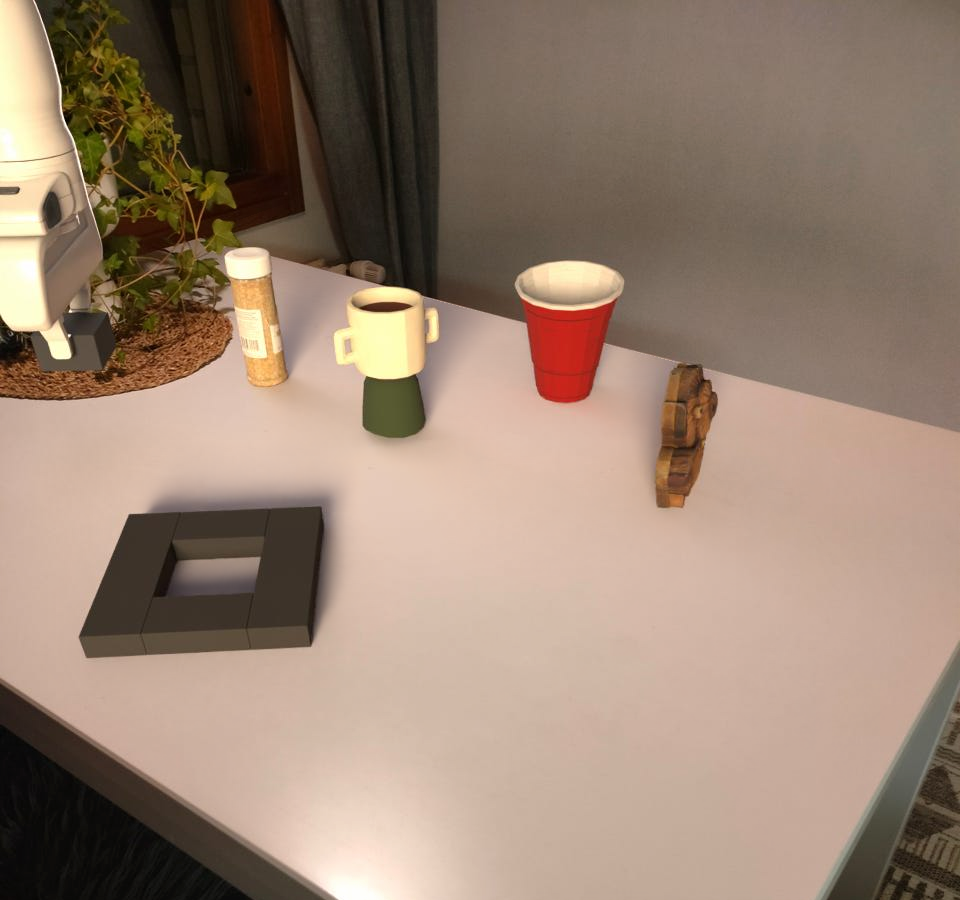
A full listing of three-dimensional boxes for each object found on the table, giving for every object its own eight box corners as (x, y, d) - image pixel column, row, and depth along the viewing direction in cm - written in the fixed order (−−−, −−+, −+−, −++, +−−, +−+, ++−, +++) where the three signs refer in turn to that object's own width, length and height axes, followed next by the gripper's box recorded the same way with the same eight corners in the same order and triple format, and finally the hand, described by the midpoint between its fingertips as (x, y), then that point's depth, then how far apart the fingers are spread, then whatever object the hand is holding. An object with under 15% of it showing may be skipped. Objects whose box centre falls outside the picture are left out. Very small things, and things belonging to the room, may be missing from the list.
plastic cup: (497, 404, 96) (498, 289, 88) (533, 364, 103) (536, 254, 95) (597, 423, 92) (607, 304, 85) (626, 380, 100) (637, 267, 92)
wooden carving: (700, 532, 77) (720, 423, 71) (646, 525, 78) (660, 418, 72) (707, 440, 90) (724, 341, 83) (660, 436, 90) (673, 337, 84)
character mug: (423, 402, 96) (417, 276, 88) (459, 429, 92) (456, 299, 83) (329, 429, 92) (313, 299, 83) (362, 459, 87) (348, 324, 79)
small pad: (40, 371, 87) (29, 336, 85) (57, 347, 92) (47, 312, 90) (103, 370, 88) (93, 334, 86) (117, 346, 92) (108, 312, 90)
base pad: (86, 658, 65) (77, 637, 64) (134, 533, 78) (128, 513, 76) (311, 647, 66) (307, 626, 65) (324, 525, 78) (321, 505, 77)
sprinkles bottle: (296, 379, 101) (278, 252, 92) (261, 391, 98) (239, 263, 90) (272, 366, 103) (253, 242, 95) (238, 378, 101) (214, 252, 92)
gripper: (30, 158, 88) (70, 303, 96) (-49, 221, 72) (7, 386, 81) (97, 157, 88) (131, 302, 97) (33, 220, 72) (80, 385, 81)
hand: (74, 341), depth 89 cm, fingers closed on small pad, 6 cm apart
